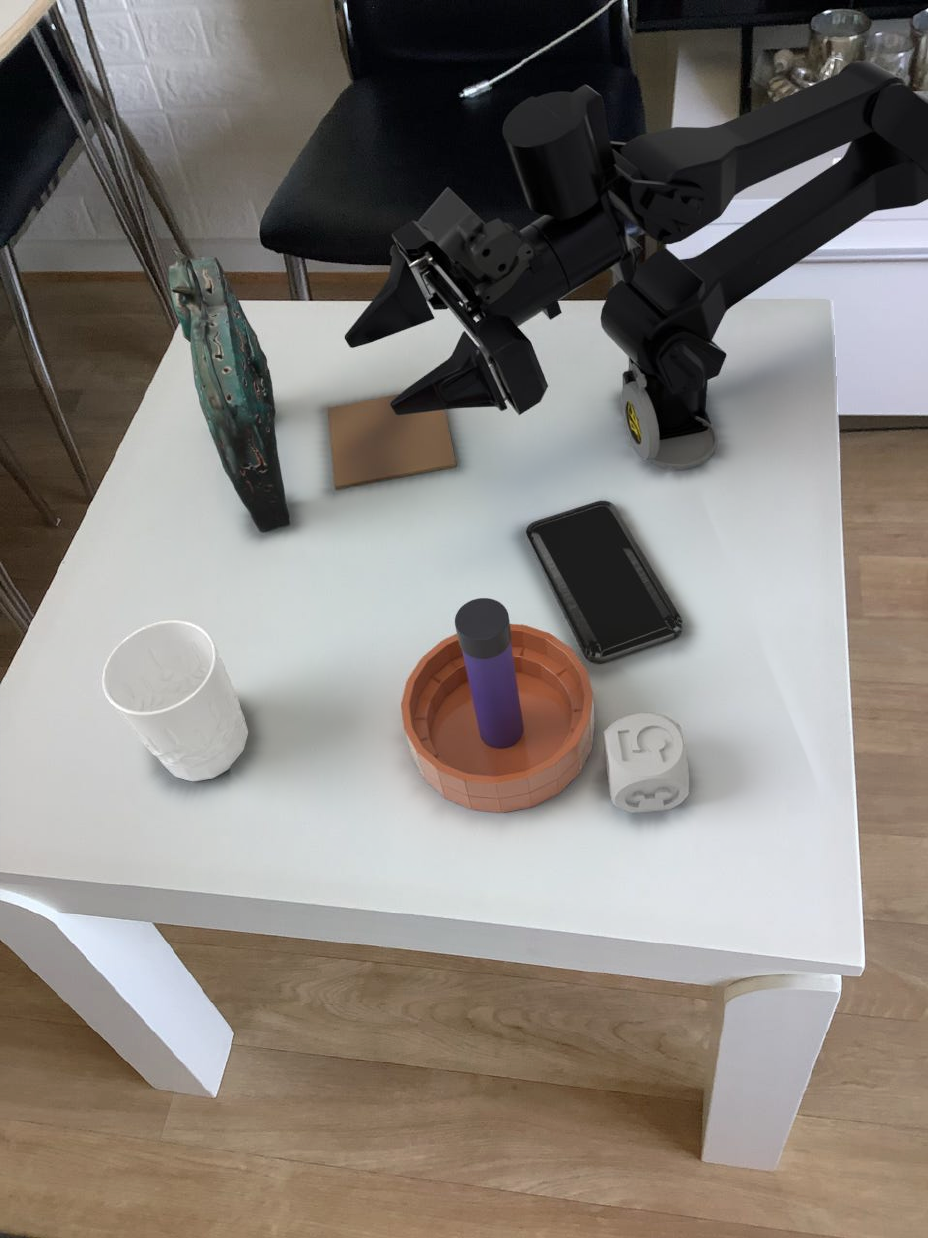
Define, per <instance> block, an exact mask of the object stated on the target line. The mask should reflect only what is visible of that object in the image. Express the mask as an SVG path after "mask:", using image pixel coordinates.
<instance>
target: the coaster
mask: <svg viewBox="0 0 928 1238" xmlns="http://www.w3.org/2000/svg"><path fill="white" fill-rule="evenodd" d="M400 394H401V393H397V394H392V395H387V396H382V397H378V398H372V399H367V400H361V401H356V402H351V403H346V404H345V403H344V404H341V405H340V404H339V405H335V406H330V407H327V415H328V427H329V438H330V448H331V449H330V451H331V457H332V458H331V461H332V472H333V483H334V489H335V490H339V489H346V488H349V487H355V486H361V485H365V484H366V485H367V484H372V483H376V482H382V481H386V480H393V479H398V478H403V477H408V476H413V475H418V474H425V473H429V472H435V471H440V470H445V469H451V468H455V467H457V462H456V458H455V453H454V448H453V443H452V437H451V432H450V426H449V423H448V416H447V411H446V410H438V411H430V412H421V413H413V414H405V415H396V414H395V413H394V411H393V409H392V408H391V406H390V403H391V402H392V401H393V400H394V399H395V398H396V397H397V396H398V395H400Z"/></svg>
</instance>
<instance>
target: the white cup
mask: <svg viewBox="0 0 928 1238" xmlns="http://www.w3.org/2000/svg"><path fill="white" fill-rule="evenodd" d="M209 633H210V632H208V631H207V630H206V629H204V628H203V627H202V626H200V625H198V624H197V623H194V622H191V621H187V620H181V619H171V620H169V619H167V620H161V621H156V622H153V623H150V624H148V625H145V626H143V627H141V628H138V629H137V630H135V631H133V632H132V633H130V634H129V635H128V636H127V637H125V638H124V639H122V641H120V642H119V643H118V644H117V645H116V646H115V648H114V649H113V650H112V651H111V652H110V654H109V656H108V658H107V660H106V662H105V664H104V666H103V671H102V676H101V682H102V683H101V686H102V690H103V693H104V695H105V697H106V698H107V700H108V701H109V702H110V704H111V705H112V706H113V708H114V709H115V710H116V711H117V713H118V714H119V715H120V716H121V718H122V719H123V720H124V721H125V723H126V724H127V726H128V727H129V728H130V729H131V731H132V732H133V733H134V734H135V736H137V738H139V739H140V741H141V742H142V744H143V745H144V746H145V747H146V748H147V749H148V750H149V752H150V753H151V754H152V755H153V756H155V757H156V758H157V759H158V760H159V761H160V763H161V764H162V765H163V767H165V769H167V770H168V771H169V772H170V774H172V776H174V778H178V779H183V780H185V781H189V782H198V781H199V782H200V781H205V780H212V779H215V778H216V777H217V776H220V775H221V774H223V773H225V772H226V771H228V770H230V768H231V766H232V765H233V764H234V762H236V760H237V759H238V758H239V756H240V755H241V754H242V752H243V751H244V750H245V746H246V743H247V738H248V735H249V729H248V725H247V723H246V718H245V715H244V713H243V711H242V709H241V704H240V700H239V698H238V695H237V693H236V691H235V688H234V686H233V683H232V680H231V678H230V676H229V673H228V671H227V668H226V666H225V664H224V662H223V659H222V657H221V654H220V652H219V651H218V648H217V646H216V643H215V641H214V639H213V637H212V636H211V634H209Z"/></svg>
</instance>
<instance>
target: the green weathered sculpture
mask: <svg viewBox="0 0 928 1238" xmlns="http://www.w3.org/2000/svg"><path fill="white" fill-rule="evenodd" d="M170 249H171V250H172V252H173V253H174V255H175V258H176V261H175V262H174V263H173V264H172V265H169V267H168V282H169V289H170V295H171V300H172V304H173V308H174V311H175V314H176V316H177V320H178V322H179V324H180V326H181V333H182V337H183V338H184V339H185V340H186V341H188V342H189V343H190V354H191V355H190V356H191V363H192V373H193V381H194V386H195V389H196V392H197V396H198V401H199V402H198V403H199V406H200V409H201V412H202V413H203V416H204V419H205V421H206V424H207V427H208V431H209V433H210V436H211V438H212V440H213V443H214V446H215V448H216V451H217V453H218V455H219V459H220V461H221V465H222V468H223V470H224V472H225V474H226V475H227V477H228V478H229V479H230V482H231V484H232V486H233V488H234V491H235V493H236V494H237V495H238V498H239V500H240V501H241V504H243V505H244V507H245V508H246V510H247V511H248V513H249V514H250V518H251V520H252V521H253V523H254V525H255V526H256V528H257V530H258V531H259V532H260V533H266V532H269V531H273V530H275V529H277V528H283V527H287V526H290V524H291V521H290V511H289V509H288V506H287V500H286V493H285V491H286V490H285V486H284V480H283V476H282V468H281V463H280V457H279V451H278V442H277V436H276V427H275V418H276V407H275V406H276V405H275V399H274V398H275V397H274V390H273V382H272V376H271V371H270V368H269V366H268V359H267V355H266V353H265V352H264V350H263V349H262V347H261V344H260V341H259V339H258V338H259V337H258V335H257V333H256V332H255V330H254V329H253V326H252V325H251V324H250V322H249V320H248V318H247V316H246V314H245V312H244V310H243V307H242V305H241V302H240V301H239V299H238V297H237V295H236V292H235V291H234V289H233V286H232V283H231V282H230V279H229V277H228V275H227V274H226V272H225V270H224V268H223V267H222V265H221V263H220V261H219V259H218V258H217V256H213V255H212V256H203V257H198V258H191V257H189V256H188V255H185V254H184V253H182V252H181V251H179V249H177V248H175V247H170Z"/></svg>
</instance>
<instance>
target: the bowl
mask: <svg viewBox="0 0 928 1238" xmlns="http://www.w3.org/2000/svg"><path fill="white" fill-rule="evenodd" d="M510 628H511V646H512V653H513V659H514V666H515V673H516V679H517V686H518V693H519V700H520V706H521V713H522V720H523V727H524V731H523V735H522V737H521V738H520V740H519V741H518V742H517V743H516V744H514V745H513V746H511V747H508V748H502V749H499V748H493V747H491V746H489V745H487V744H486V743H485V742H484V741H483V740H482V738H481V736H480V733H479V728H478V723H477V718H476V714H475V709H474V704H473V700H472V695H471V690H470V685H469V681H468V676H467V671H466V667H465V662H464V657H463V652H462V649H461V647H460V645H459V641H458V636H457V633H455V634H453V635H450V636H449V637H446V638H444V639H442V640H440V642H439V643H437V644H436V645H435V646H434V647H432V648H431V649H430V650H429V651H428V652H426V654H424V655H423V656H422V657H421V658H420V659H419V661H418V662H417V664H416V665H415V667H414V668H413V670H412V672H411V673H410V675H409V676H408V678H407V680H406V682H405V687H404V690H403V694H402V698H401V703H400V708H401V709H400V710H401V716H402V725H403V730H404V734H405V738H406V741H407V744H408V746H409V747H408V748H409V750H410V753H411V755H412V759H413V761H414V763H415V765H416V766H417V769H418V770H419V772H420V774H421V776H422V778H423V780H424V781H425V782H426V783H427V784H428V785H429V786H430V787H431V788H433V789H434V791H436V792H437V793H438V794H439V795H440V796H442V797H443V798H444V799H445V800H448V801H450V802H453V803H454V804H458V805H460V806H462V807H465V808H467V809H470V810H473V811H481V812H491V813H508V812H514V811H519V810H524V809H525V810H526V809H530V808H533V807H535V806H537V805H540V804H541V803H543V802H546V801H547V800H549V799H551V798H553V797H555V796H557V795H559V794H560V793H562V791H563V790H564V789H565V788H566V787H568V786H569V784H571V782H572V781H573V780H574V779H576V778H577V777H578V776H579V775H580V773H581V772H582V770H583V768H584V766H585V764H586V762H587V760H588V758H589V756H590V754H591V752H592V749H593V743H594V733H595V725H596V724H595V706H594V703H595V701H594V692H593V687H592V684H591V680H590V677H589V672H588V669H587V668H586V666H585V665H584V664H583V663H582V661H581V660H580V658H579V656H578V655H577V654H576V652H575V651H574V650H573V649H572V648H571V647H570V646H569V645H567V644H565V643H564V642H562V641H561V640H560V639H559V638H557V637H556V636H554V635H553V634H551V633H550V632H547V631H544V630H541V629H538V628H535V627H531V626H530V625H526V624H517V623H510Z"/></svg>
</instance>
